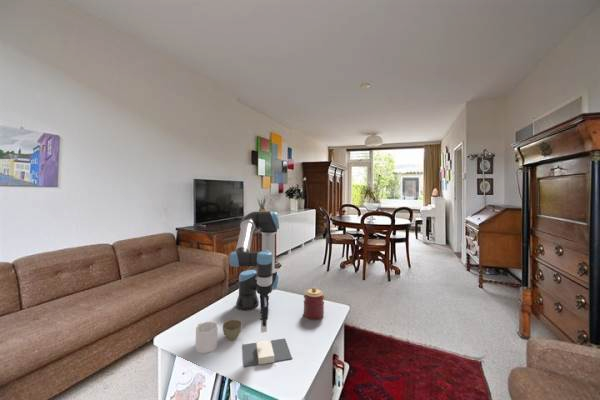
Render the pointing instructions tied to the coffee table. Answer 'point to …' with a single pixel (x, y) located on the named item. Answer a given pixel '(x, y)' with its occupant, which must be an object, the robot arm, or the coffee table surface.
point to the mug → (206, 337)
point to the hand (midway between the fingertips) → (263, 331)
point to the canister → (313, 304)
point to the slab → (265, 352)
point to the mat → (279, 351)
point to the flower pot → (232, 329)
